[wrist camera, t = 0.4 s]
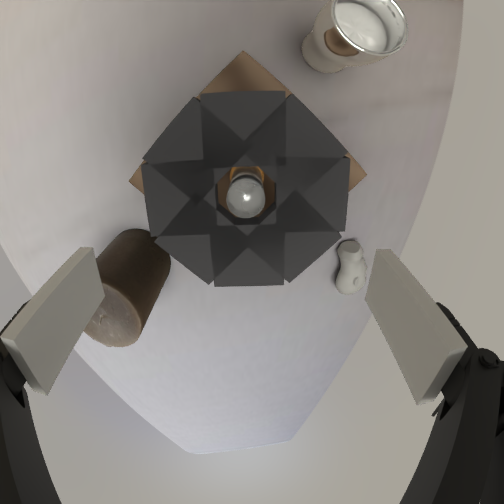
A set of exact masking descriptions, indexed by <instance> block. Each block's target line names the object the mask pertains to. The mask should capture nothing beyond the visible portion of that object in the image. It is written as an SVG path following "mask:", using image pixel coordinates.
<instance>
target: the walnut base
mask: <svg viewBox="0 0 504 504" xmlns="http://www.w3.org/2000/svg"><path fill="white" fill-rule="evenodd" d="M232 91H285V96H286V98H287V97H288V96H289V95H290V94H292V93H291V92H290V91H289V90H288V89H287V88H286V87H285V86H284V85H283V84H282V83H281V82H279V81H278V80H277V79H276V78H275V77H274V76H273V75H272V74H271V73H269V72H268V71H267V70H266V69H265V68H264V67H263V66H261V65H260V64H259V63H258V62H257V61H256V60H254V59H253V58H252V57H251V56H250V55H248V54H247V53H246V52H245V51H242V52H241V53H240V54H239V55H238V56H237V57H236V58H235V59H234V60H233V61H232V62H231V63H230V64H229V65H228V66H226V67H225V68H224V69H223V70H222V71H221V72H220V73H219V74H218V75H217V76H216V77H215V78H214V79H213V81H212V82H211V83H210V84H209V85H208V86H207V87H206V88H205V89H204V90H203V91H202V92H201V93H200V94H203V93H215V92H232ZM200 94H199V95H198V96H197V97H196V98H198V99H199V100H200ZM296 98H297V97H296ZM297 99H298V98H297ZM316 118H317V117H316ZM317 119H318V118H317ZM333 136H334V135H333ZM342 146H343V145H342ZM345 156H346V157H348V158H350V176H349V191H350V190H351V189H352V188H353V187H355V186H356V185H357V184H358V183H359V182H360V181H361V180H362V179H363V178H364V177H365V176H366V175H367V174H366V172H365V171H364V170H363V169H362V168H361V166H360V165H359V164H358V163H357V162H356V160H355V159H354V158H353V157H352V156H351V155H350V153H349V152H348V153H347V154H346V155H345ZM145 162H146V161H145V160H144V161H143V162H142V164H143V163H145ZM142 164H141V165H142ZM141 165H140V166H139V168H138V169H137V170H136V172H135V173H134V175H133V176H132V177H131V179H130V180H129V182H130V183H131V184H132V185H133V186H135V187H136V188H137V189H138V190H139V191H141V192H142V193H143V194H144V188H143V180H142V172H141ZM231 169H232V168H231ZM231 169H230V170H229V171H228V172H227V173H226V174H225V175H224V176H223V177H222V178H221V179H220V180H219V181H218V183H217V185H218V201H219V203H220V204H221V205H222V206H223V207H224V208H225V209H226V210H228V211H229V212H230V213H231V214H232V215H233V216H235V217H238V216H236V215H234V214H233V213H232V212H231V211H230V210H229V208H228V206H227V203H226V197H227V193H228V189H229V185H230V172H231ZM263 188H264V193H265V205H264V207H263V209H262V211H261V212H260V213H259V214H258V215H256V216H254V217H259V216H260V215H261V214H262V213H263V212H264V211H265V210H266V209H267V208H268V207H269V206H270V205H271V204H272V203H273V202H274V201H275V182H274V181H273V180H272V179H271V178H270V177H269V176H268V175H267V174H266V173H265V172H264V181H263ZM349 191H348V192H349Z"/></svg>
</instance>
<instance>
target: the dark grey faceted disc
mask: <svg viewBox="0 0 504 504" xmlns="http://www.w3.org/2000/svg"><path fill="white" fill-rule="evenodd" d="M347 153H348V151H347V150H346V149H345V148H344V147H343V146H342V144H341V143H340V142H339V141H338V140H337V139H336V138H335V137H334V136H333V134H332V133H331V132H330V131H329V130H328V129H327V128H326V127H325V126H324V125H323V124H322V123H321V122H320V121H319V120H318V119H317V118H316V116H315V115H314V114H313V113H312V112H311V111H310V110H309V109H308V108H307V107H306V106H305V105H304V104H303V103H302V102H301V101H300V100H299V99H297V98H296V97H295V96H294V95H293V94H290V95H289V96H288V97H287V98H286V96H285V91H232V92H215V93H203V94H200V100H199V99H198V98H195V97H193V98H192V99H191V100H190V101H189V102H188V104H187V105H186V106H185V107H184V108H183V109H182V110H181V112H180V113H179V114H178V115H177V116H176V117H175V118H174V120H173V121H172V122H171V123H170V124H169V126H168V127H167V128H166V129H165V130H164V132H163V133H162V134H161V135H160V137H159V138H158V139H157V140H156V142H155V143H154V144H153V145H152V147H151V148H150V149H149V151H148V152H147V153H146V154H145V156H144V157H143V158H142V159H144V160H145V161H146V162H145V163H143V164H142V165H141V172H142V180H143V188H144V195H145V202H146V209H147V216H148V222H149V228H150V234H151V237H153V236H158V237H157V238H156V240H155V241H154V242H155V243H156V244H157V245H159V246H160V247H161V248H162V249H164V250H165V251H166V252H167V253H169V254H170V255H171V256H172V257H174V258H175V259H176V260H177V261H179V262H180V263H181V264H182V265H184V266H185V267H186V268H188V269H189V270H190V271H191V272H193V273H194V274H195V275H197V276H198V277H199V278H201V279H202V280H203V281H204V282H206V283H207V284H208V285H209V284H210V283H211V282H212V281H213V280H214V286H215V287H225V286H268V285H284V279H285V280H287V281H288V282H289V283H290V282H291V281H292V280H293V279H295V278H296V277H297V276H298V275H299V274H300V273H302V272H303V271H304V270H305V269H306V268H307V267H308V266H310V265H311V264H312V263H313V262H314V261H315V260H317V259H318V258H319V257H320V256H321V255H322V254H323V253H325V252H326V251H327V250H328V249H329V248H330V247H331V246H332V245H334V244H335V243H336V242H337V241H338V240H339V239H340V238H341V237H342V236H341V235H340V233H339V232H340V231H345V225H346V215H347V203H348V191H349V176H350V158H348V157H346V156H345V155H346V154H347ZM256 166H258V167H259V168H260V169H261V170H262V171H263V172H265V173H266V174H267V175H268V176H269V177H270V178H271V179H272V180H273V181H274V182H275V201H274V202H273V203H272V204H271V205H270V206H269V207H268V208H267V209H266V210H265V211H264V212H263V213H262V214H261V215H260V216H259V217H251V218H240V217H235V216H233V215H232V214H231V213H230V212H229V211H228V210H226V209H225V208H224V207H223V206H222V205H221V204H220V203H219V201H218V185H217V183H218V181H219V180H220V179H221V178H222V177H223V176H224V175H225V174H226V173H227V172H228V171H229V170H230V169H231V168H232V167H256Z"/></svg>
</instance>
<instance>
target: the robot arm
mask: <svg viewBox="0 0 504 504" xmlns="http://www.w3.org/2000/svg"><path fill="white" fill-rule="evenodd" d="M104 297H105V294H104V290H103V287H102V283H101V279H100V275H99V271H98V267H97V263H96V259H95V254H94V250H93V248H90V247H80V248H79V249H78V250H77V251H76V252H75V253H74V254H73V255H72V256H71V257H70V258H69V259H68V260H67V261H66V262H65V263H64V264H63V265H62V266H61V267H60V268H59V269H58V270H57V271H56V272H55V273H54V274H53V276H52V277H51V278H50V279H49V280H48V281H47V282H46V283H45V284H44V285H43V286H42V287H41V288H40V290H39V291H38V292H37V293H36V294H35V295H34V296H33V297H32V299H30V300H29V301H28V302H26V303H25V304H23V305H22V307H21V308H20V309H19V310H18V311H17V314H15V315H14V316H13V317H12V320H10V321H9V322H8V323H7V325H6V326H5V327H4V328H3V330H2V331H1V332H0V504H61V501H60V499H59V497H58V495H57V492H56V490H55V487H54V485H53V483H52V480H51V477H50V475H49V472H48V469H47V466H46V463H45V460H44V458H43V454H42V451H41V448H40V445H39V441H38V438H37V434H36V431H35V427H34V423H33V419H32V415H31V410H30V406H29V401H28V396H27V392H26V390H25V388H24V387H23V386H24V384H25V382H26V381H27V382H28V384H29V385H30V387H31V388H32V390H33V391H35V392H38V393H41V394H44V395H48V394H49V392H50V390H51V388H52V386H53V384H54V382H55V380H56V378H57V376H58V374H59V373H60V371H61V369H62V367H63V365H64V364H65V362H66V360H67V358H68V356H69V354H70V353H71V351H72V349H73V348H74V346H75V344H76V342H77V341H78V339H79V337H80V336H81V334H82V332H83V331H84V329H85V327H86V326H87V324H88V322H89V321H90V319H91V318H92V316H93V314H94V313H95V311H96V310H97V308H98V307H99V305H100V303H101V302H102V300H103V299H104ZM365 300H366V302H367V304H368V306H369V308H370V310H371V311H372V313H373V315H374V317H375V319H376V321H377V323H378V325H379V327H380V329H381V330H382V333H383V335H384V336H385V338H386V341H387V342H388V344H389V346H390V349H391V350H392V352H393V355H394V357H395V359H396V361H397V363H398V365H399V367H400V369H401V371H402V373H403V376H404V378H405V380H406V382H407V384H408V386H409V389H410V391H411V393H412V395H413V398H414V400H415V402H416V404H417V405H421V404H425V403H428V402H432V401H434V400H435V398H436V397H437V395H438V394H439V393H440V391H442V393H443V395H444V399H443V400H442V401H441V403H440V404H439V406H438V407H437V408H436V410H435V411H434V413H433V414H432V416H435V414H436V413H437V412H438V414H437V417H436V420H435V423H434V426H433V428H432V431H431V434H430V437H429V440H428V442H427V445H426V448H425V450H424V453H423V455H422V457H421V460H420V462H419V465H418V467H417V469H416V472H415V473H414V476H413V478H412V480H411V482H410V484H409V486H408V488H407V490H406V492H405V494H404V496H403V498H402V500H401V502H400V504H479V502H480V504H504V361H500V359H499V358H498V356H497V355H496V354H495V353H494V352H492V351H490V350H488V349H484V348H479V349H478V348H477V346H476V345H475V344H474V342H473V341H472V340H471V339H470V337H469V335H468V334H467V333H466V331H465V330H464V329H463V328H462V326H460V324H459V322H458V321H457V320H456V319H455V317H454V316H453V314H452V313H451V312H450V311H449V309H447V308H446V307H445V306H443V305H442V304H440V303H438V302H437V303H435V302H434V300H433V299H432V298H431V297H430V295H429V294H428V293H427V292H426V290H425V289H424V288H423V287H422V285H421V284H420V283H419V282H418V281H417V280H416V278H415V277H414V276H413V275H412V274H411V273H410V271H409V270H408V269H407V268H406V266H405V265H404V264H403V263H402V262H401V261H400V260H399V258H398V257H397V256H396V255H395V254H394V253H393V252H392V251H391V250H389V249H376V254H375V258H374V263H373V267H372V272H371V276H370V280H369V285H368V289H367V293H366V297H365Z"/></svg>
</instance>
